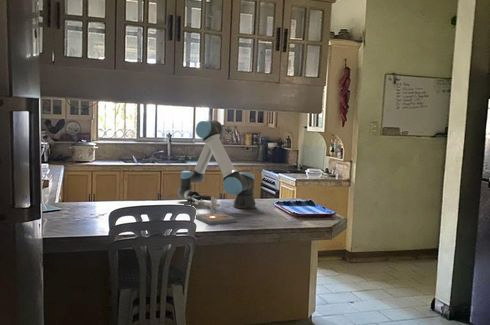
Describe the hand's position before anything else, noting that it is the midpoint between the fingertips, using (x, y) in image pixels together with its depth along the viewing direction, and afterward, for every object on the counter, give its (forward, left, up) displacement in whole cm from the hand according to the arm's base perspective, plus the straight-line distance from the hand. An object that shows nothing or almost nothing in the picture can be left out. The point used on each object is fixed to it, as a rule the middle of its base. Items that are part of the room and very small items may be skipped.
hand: (207, 201), depth 293 cm
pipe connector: (-1, +6, -6) cm, 9 cm away
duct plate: (+7, +24, -6) cm, 26 cm away
